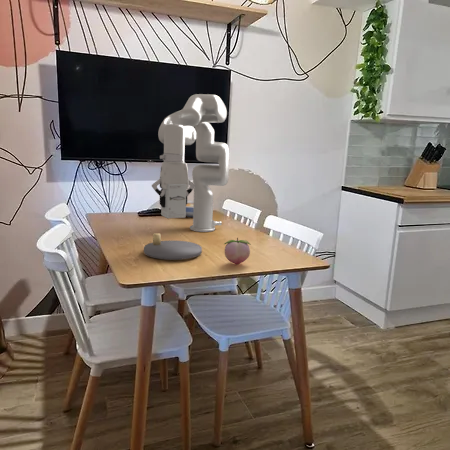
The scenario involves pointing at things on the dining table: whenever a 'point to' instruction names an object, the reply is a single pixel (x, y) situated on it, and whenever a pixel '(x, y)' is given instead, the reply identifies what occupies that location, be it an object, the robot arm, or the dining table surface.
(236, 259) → the decorative fruit
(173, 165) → the robot arm
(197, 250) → the disc
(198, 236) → the dining table surface
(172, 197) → the supplement box
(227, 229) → the dining table surface
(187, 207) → the ramen bowl
